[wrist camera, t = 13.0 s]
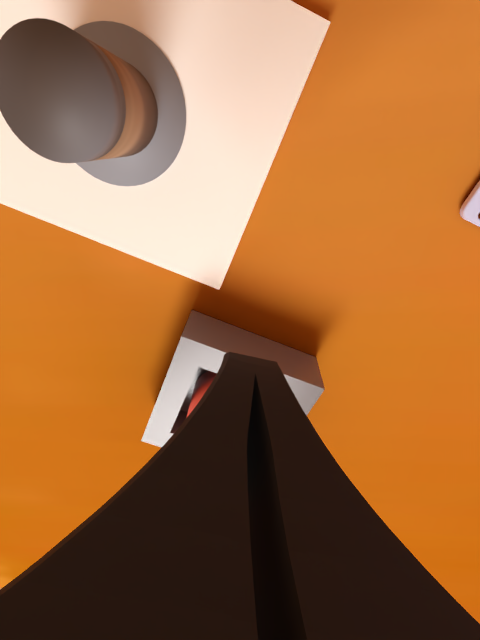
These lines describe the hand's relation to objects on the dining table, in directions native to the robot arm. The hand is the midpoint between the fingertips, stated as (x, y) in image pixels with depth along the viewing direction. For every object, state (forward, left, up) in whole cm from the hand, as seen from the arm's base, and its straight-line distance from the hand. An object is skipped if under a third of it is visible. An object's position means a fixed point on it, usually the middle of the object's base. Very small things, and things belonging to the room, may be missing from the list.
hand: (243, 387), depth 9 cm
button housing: (-2, +8, -10) cm, 13 cm away
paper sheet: (+8, -4, -10) cm, 14 cm away
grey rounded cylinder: (+8, -4, -10) cm, 13 cm away
